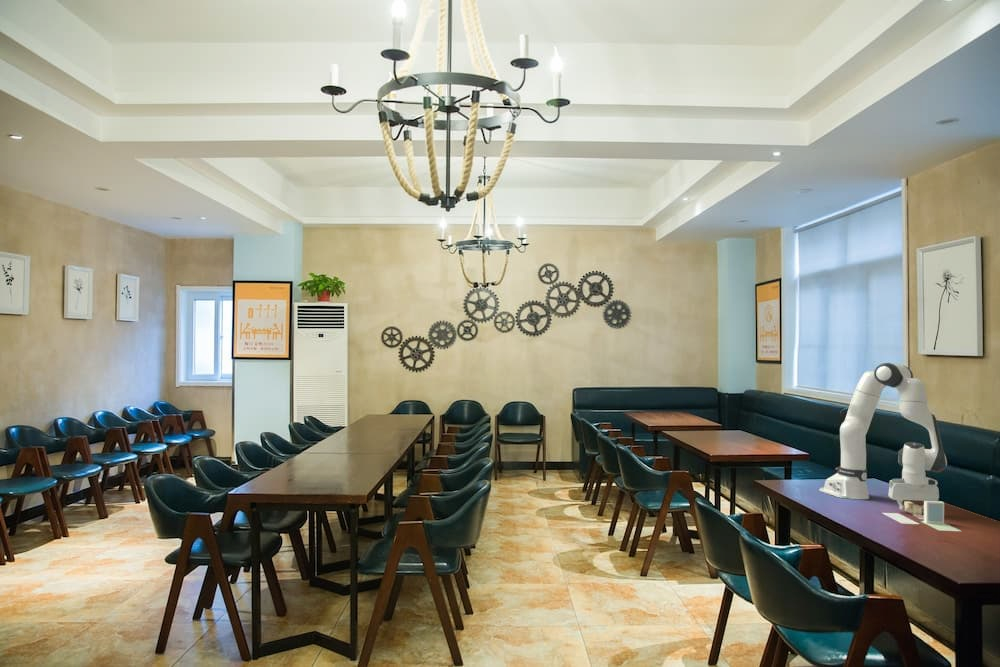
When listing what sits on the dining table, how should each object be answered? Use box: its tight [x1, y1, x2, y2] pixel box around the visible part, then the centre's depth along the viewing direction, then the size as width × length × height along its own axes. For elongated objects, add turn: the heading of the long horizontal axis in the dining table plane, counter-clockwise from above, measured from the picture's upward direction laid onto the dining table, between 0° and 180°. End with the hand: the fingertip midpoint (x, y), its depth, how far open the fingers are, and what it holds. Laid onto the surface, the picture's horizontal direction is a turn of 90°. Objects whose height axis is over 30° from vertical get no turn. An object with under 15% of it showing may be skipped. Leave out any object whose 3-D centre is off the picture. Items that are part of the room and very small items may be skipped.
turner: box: [903, 500, 924, 520], centre depth 277 cm, size 15×5×4 cm, turn 176°
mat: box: [920, 520, 961, 532], centre depth 260 cm, size 13×9×1 cm
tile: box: [923, 500, 945, 524], centre depth 265 cm, size 2×7×9 cm, turn 86°
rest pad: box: [882, 512, 921, 525], centre depth 270 cm, size 16×7×1 cm, turn 176°
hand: (913, 509), depth 280 cm, fingers open, 8 cm apart
